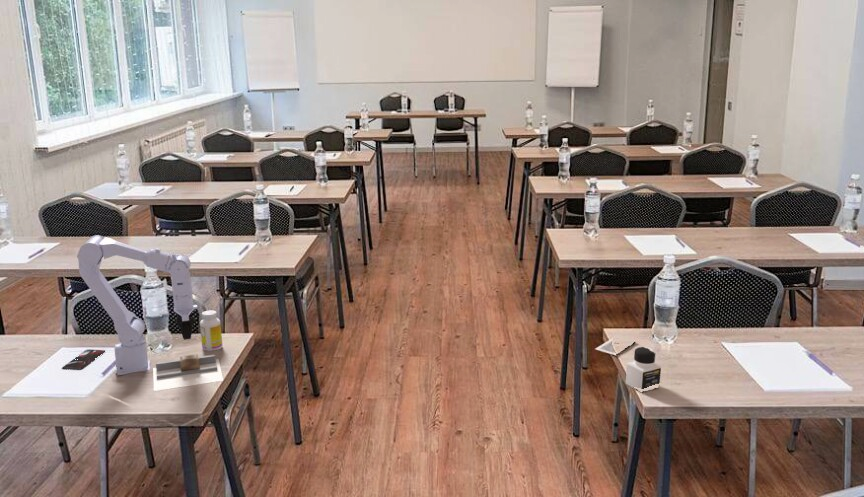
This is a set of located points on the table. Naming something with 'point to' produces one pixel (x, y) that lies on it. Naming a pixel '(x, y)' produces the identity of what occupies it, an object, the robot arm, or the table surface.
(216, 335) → the supplement bottle
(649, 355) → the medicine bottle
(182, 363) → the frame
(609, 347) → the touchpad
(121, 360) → the robot arm
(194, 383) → the wall board
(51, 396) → the table surface
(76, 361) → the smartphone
